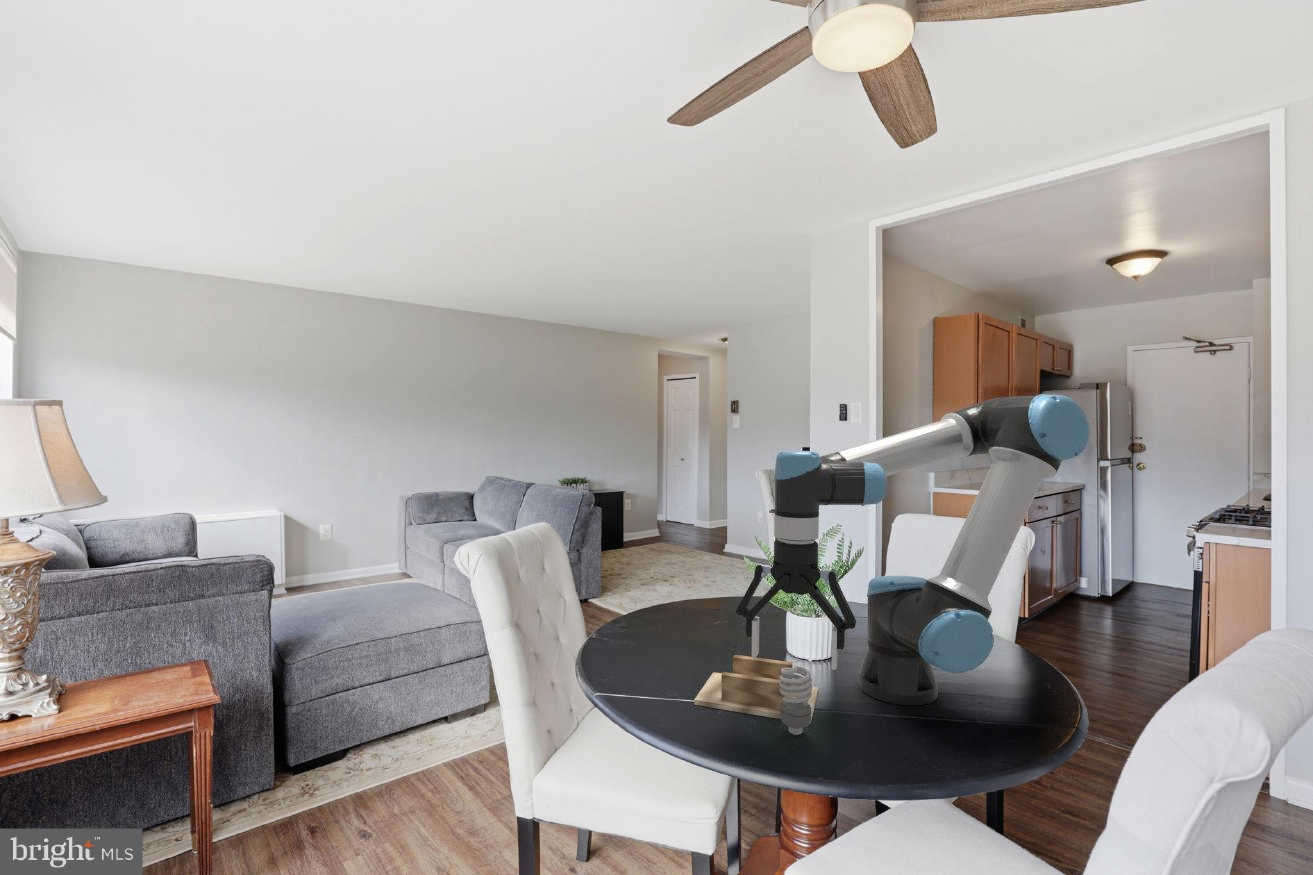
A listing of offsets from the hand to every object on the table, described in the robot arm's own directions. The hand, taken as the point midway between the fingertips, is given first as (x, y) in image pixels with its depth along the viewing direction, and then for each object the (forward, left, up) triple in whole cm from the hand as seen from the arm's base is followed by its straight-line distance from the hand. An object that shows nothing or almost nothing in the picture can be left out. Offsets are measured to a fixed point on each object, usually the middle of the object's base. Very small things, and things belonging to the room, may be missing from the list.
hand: (793, 661), depth 107 cm
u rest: (+9, -12, -13) cm, 20 cm away
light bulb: (0, 0, -13) cm, 13 cm away
